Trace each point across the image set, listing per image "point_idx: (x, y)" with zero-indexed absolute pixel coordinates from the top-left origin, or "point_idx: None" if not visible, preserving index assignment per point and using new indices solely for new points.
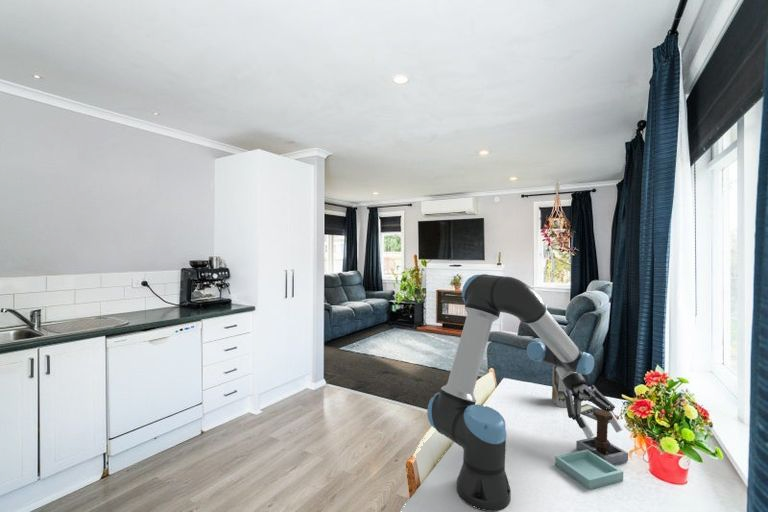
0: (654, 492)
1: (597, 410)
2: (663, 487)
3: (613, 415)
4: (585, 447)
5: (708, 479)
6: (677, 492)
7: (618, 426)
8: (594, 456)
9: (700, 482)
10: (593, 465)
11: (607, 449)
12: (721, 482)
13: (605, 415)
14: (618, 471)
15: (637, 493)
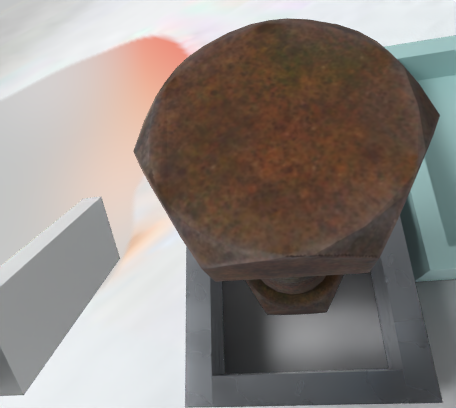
0: (299, 14)
1: (301, 213)
2: None
3: (12, 266)
4: (417, 304)
5: (22, 55)
6: (211, 10)
7: (89, 222)
8: (432, 194)
9: (68, 45)
10: (452, 183)
11: (219, 300)
12: (4, 40)
13: (321, 32)
14: (404, 49)
15: (378, 13)
